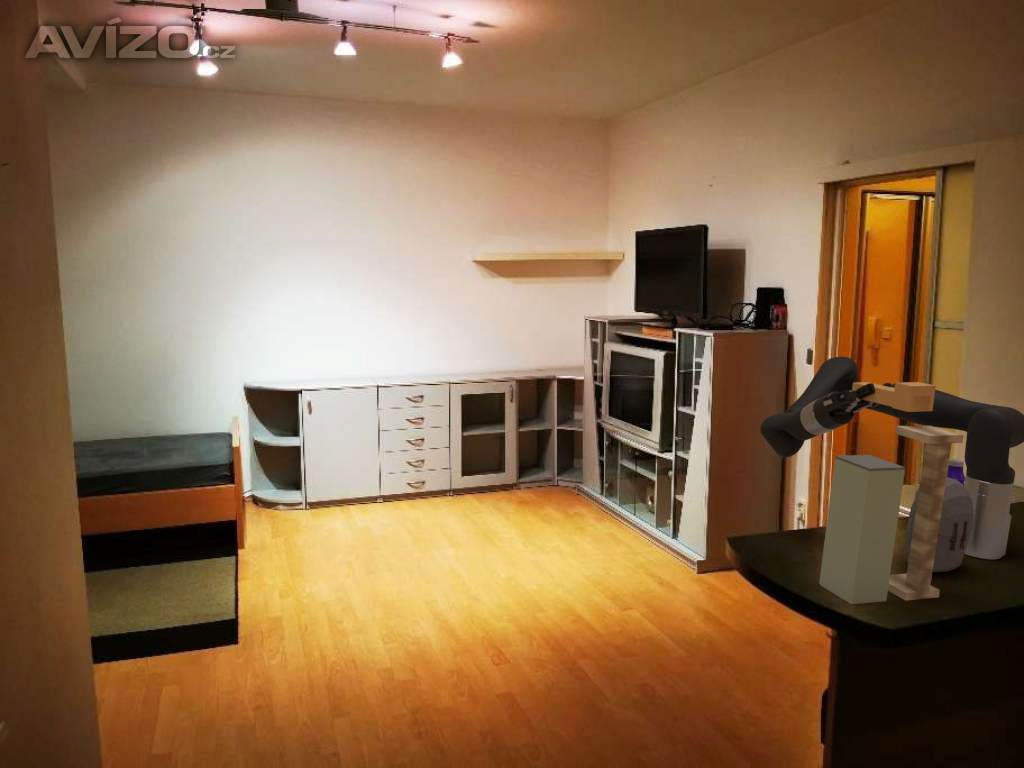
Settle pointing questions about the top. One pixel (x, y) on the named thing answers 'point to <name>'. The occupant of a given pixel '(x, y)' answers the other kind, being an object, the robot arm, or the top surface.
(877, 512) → the tall grey-green pillar
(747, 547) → the top surface
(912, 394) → the orange wooden block
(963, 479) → the bottle
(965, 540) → the soft grey pack
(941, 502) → the tan table
